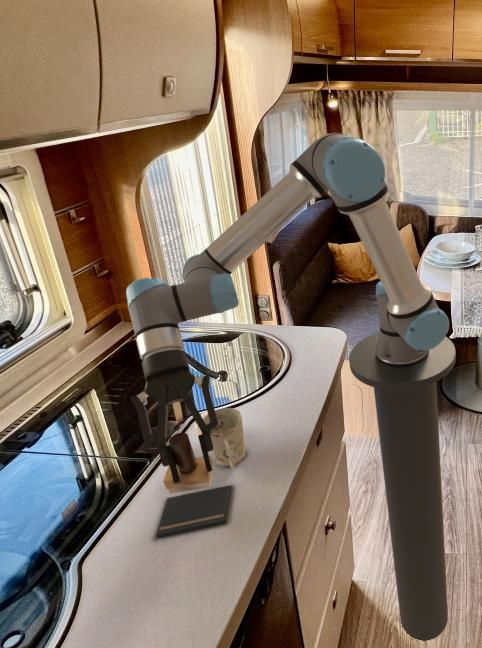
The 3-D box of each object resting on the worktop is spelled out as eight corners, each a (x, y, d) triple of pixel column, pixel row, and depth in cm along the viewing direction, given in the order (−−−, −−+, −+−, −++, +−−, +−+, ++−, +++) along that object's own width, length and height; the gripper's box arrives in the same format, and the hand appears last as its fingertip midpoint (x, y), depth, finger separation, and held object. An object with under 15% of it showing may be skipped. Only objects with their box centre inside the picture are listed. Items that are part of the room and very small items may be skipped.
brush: (215, 468, 96) (203, 426, 91) (211, 487, 92) (197, 444, 87) (174, 475, 94) (159, 433, 89) (168, 495, 90) (152, 451, 85)
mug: (245, 438, 114) (236, 403, 110) (260, 471, 105) (250, 434, 100) (207, 453, 110) (196, 417, 106) (219, 489, 101) (207, 451, 96)
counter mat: (231, 487, 101) (230, 484, 101) (225, 522, 93) (225, 520, 93) (168, 500, 99) (167, 497, 98) (156, 537, 91) (155, 535, 91)
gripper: (214, 348, 101) (245, 460, 95) (114, 375, 94) (141, 497, 88) (211, 336, 95) (244, 455, 89) (104, 364, 87) (132, 495, 81)
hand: (193, 476), depth 88 cm, fingers closed on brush, 5 cm apart
